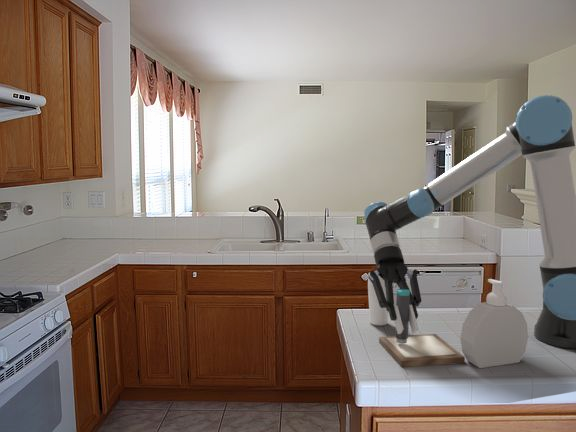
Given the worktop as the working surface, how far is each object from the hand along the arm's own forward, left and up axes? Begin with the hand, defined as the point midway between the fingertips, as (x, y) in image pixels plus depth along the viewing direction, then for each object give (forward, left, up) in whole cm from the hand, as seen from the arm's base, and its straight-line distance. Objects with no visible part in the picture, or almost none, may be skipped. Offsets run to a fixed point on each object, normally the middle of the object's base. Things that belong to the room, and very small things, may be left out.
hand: (408, 331), depth 127 cm
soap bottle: (-20, +6, -7) cm, 21 cm away
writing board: (-4, -2, -7) cm, 8 cm away
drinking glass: (-1, -25, -7) cm, 26 cm away
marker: (0, -4, -4) cm, 6 cm away
